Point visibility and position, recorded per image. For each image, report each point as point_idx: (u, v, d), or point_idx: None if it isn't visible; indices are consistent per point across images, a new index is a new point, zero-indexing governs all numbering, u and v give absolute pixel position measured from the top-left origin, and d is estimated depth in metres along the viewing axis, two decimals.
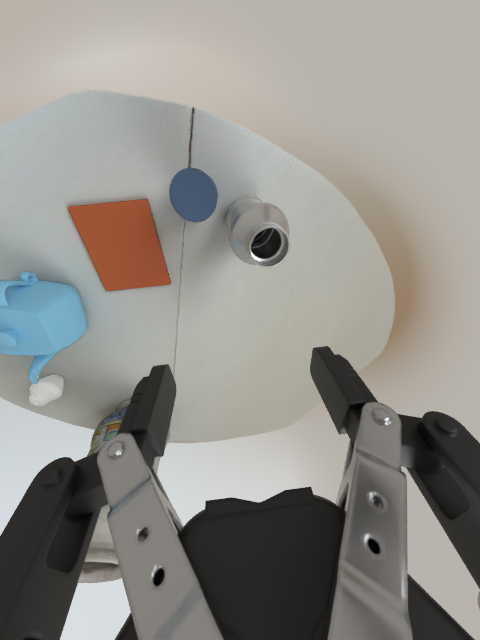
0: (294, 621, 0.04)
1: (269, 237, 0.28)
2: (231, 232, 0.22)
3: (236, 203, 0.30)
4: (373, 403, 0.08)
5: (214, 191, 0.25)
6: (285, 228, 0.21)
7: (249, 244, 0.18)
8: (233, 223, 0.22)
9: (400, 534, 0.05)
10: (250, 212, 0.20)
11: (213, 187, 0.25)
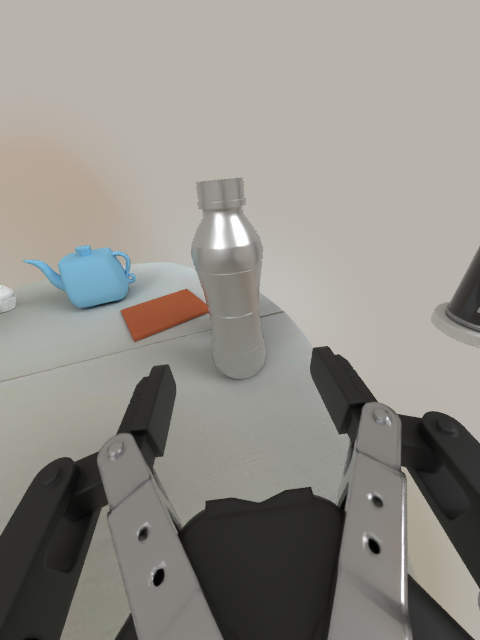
0: (293, 621, 0.04)
1: (233, 311, 0.20)
2: None
3: None
4: (373, 403, 0.08)
5: None
6: (248, 230, 0.17)
7: None
8: None
9: (400, 534, 0.05)
10: None
11: None
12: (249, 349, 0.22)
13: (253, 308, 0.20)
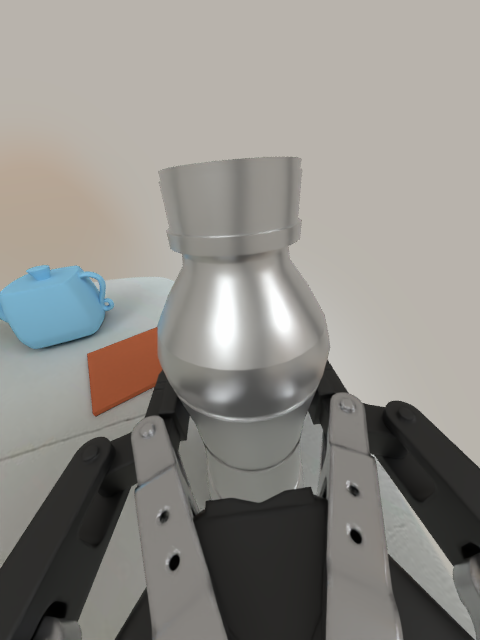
0: (293, 621, 0.04)
1: None
2: None
3: None
4: (341, 393, 0.09)
5: None
6: (307, 309, 0.06)
7: None
8: None
9: (377, 517, 0.05)
10: None
11: None
12: None
13: (294, 445, 0.10)
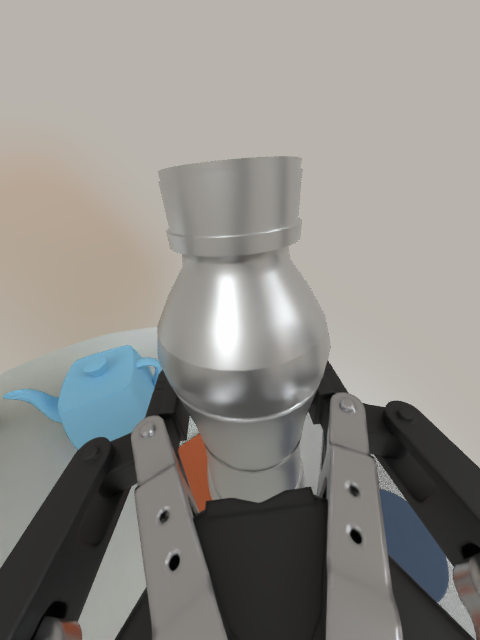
0: (294, 621, 0.04)
1: None
2: None
3: None
4: (341, 393, 0.08)
5: (443, 581, 0.13)
6: (307, 309, 0.06)
7: None
8: None
9: (377, 517, 0.05)
10: None
11: (445, 574, 0.13)
12: None
13: (295, 445, 0.10)
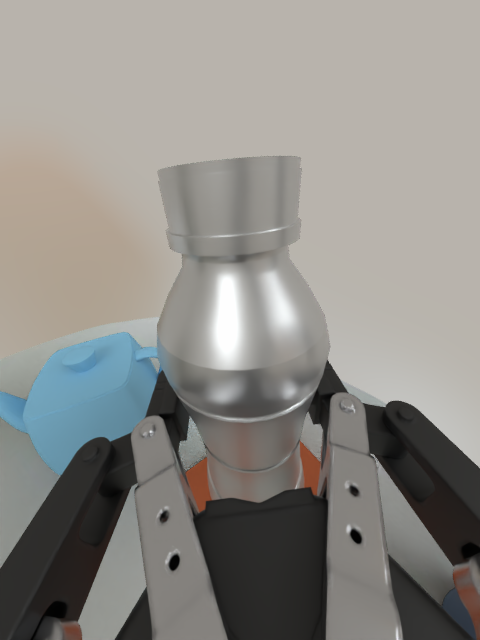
0: (293, 621, 0.04)
1: None
2: None
3: None
4: (341, 393, 0.08)
5: None
6: (307, 308, 0.06)
7: None
8: None
9: (377, 517, 0.05)
10: None
11: None
12: None
13: (295, 445, 0.10)
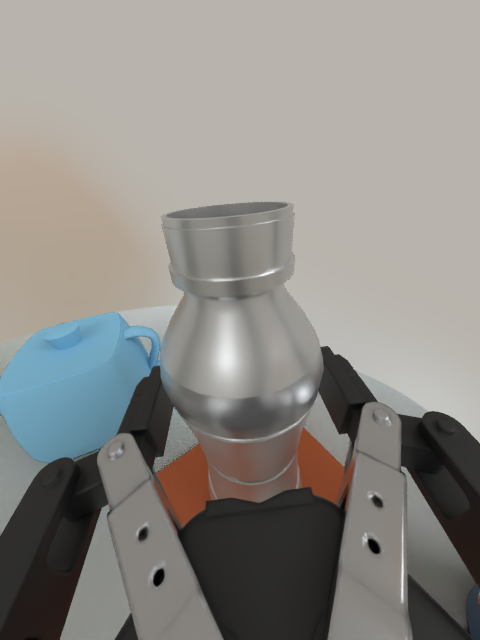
0: (294, 621, 0.04)
1: None
2: None
3: None
4: (373, 403, 0.08)
5: None
6: (300, 338, 0.06)
7: (211, 210, 0.07)
8: None
9: (400, 534, 0.05)
10: None
11: None
12: None
13: (291, 457, 0.10)
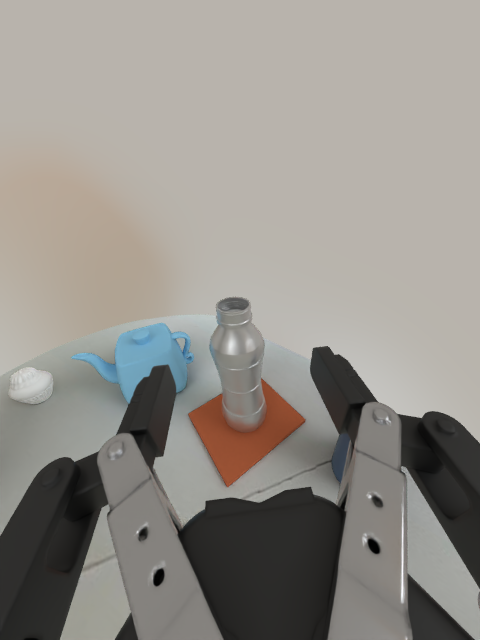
0: (294, 621, 0.04)
1: (241, 389, 0.26)
2: None
3: None
4: (373, 403, 0.08)
5: None
6: (254, 338, 0.23)
7: (228, 298, 0.24)
8: None
9: (400, 534, 0.05)
10: None
11: None
12: (252, 412, 0.28)
13: (256, 385, 0.26)
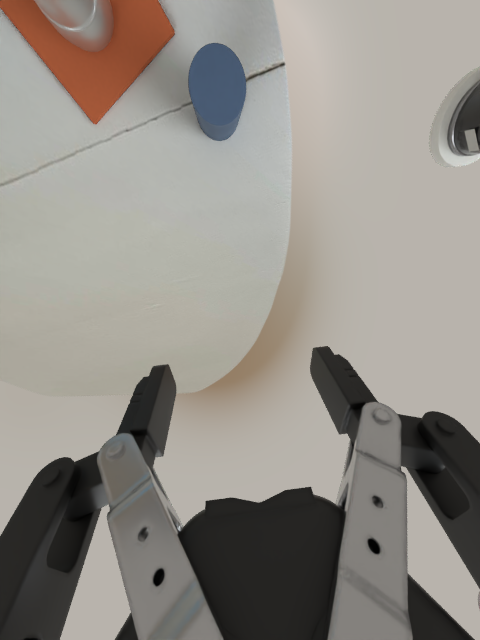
0: (294, 621, 0.04)
1: None
2: None
3: None
4: (373, 403, 0.08)
5: (235, 114, 0.22)
6: None
7: None
8: None
9: (400, 534, 0.05)
10: None
11: (238, 110, 0.22)
12: (84, 22, 0.20)
13: None
